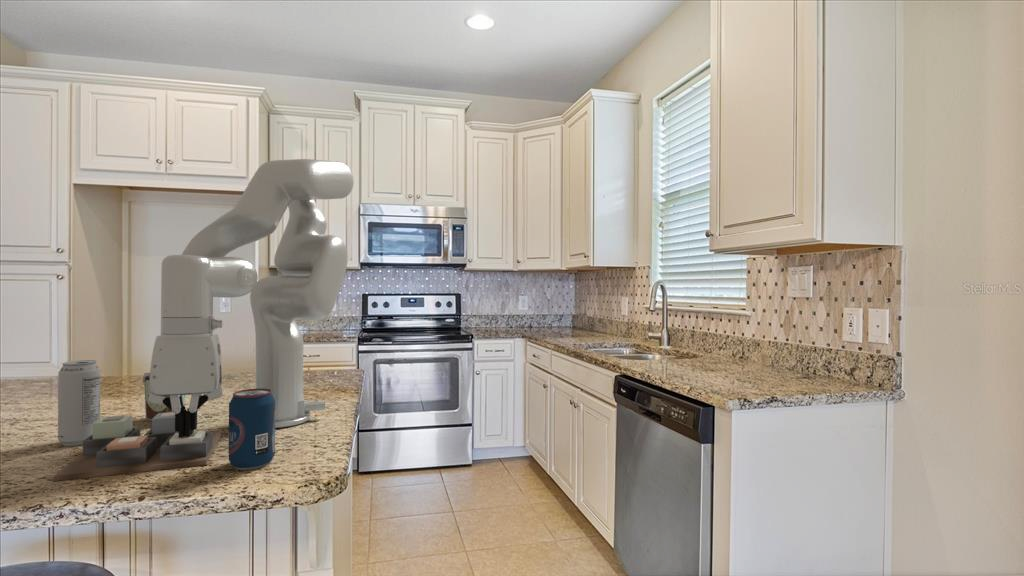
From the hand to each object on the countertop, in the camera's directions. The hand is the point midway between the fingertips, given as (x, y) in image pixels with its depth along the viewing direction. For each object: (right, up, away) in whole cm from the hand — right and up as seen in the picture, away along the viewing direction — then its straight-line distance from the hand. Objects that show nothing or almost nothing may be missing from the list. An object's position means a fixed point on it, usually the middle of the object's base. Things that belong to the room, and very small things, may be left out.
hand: (186, 434), depth 87 cm
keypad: (-7, -4, +2) cm, 9 cm away
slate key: (-7, -1, +6) cm, 9 cm away
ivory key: (0, -3, 0) cm, 3 cm away
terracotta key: (-8, -3, -3) cm, 9 cm away
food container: (-19, -4, +25) cm, 32 cm away
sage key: (-15, -1, +3) cm, 15 cm away
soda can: (+12, -4, -2) cm, 13 cm away
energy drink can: (-25, -4, +8) cm, 27 cm away
